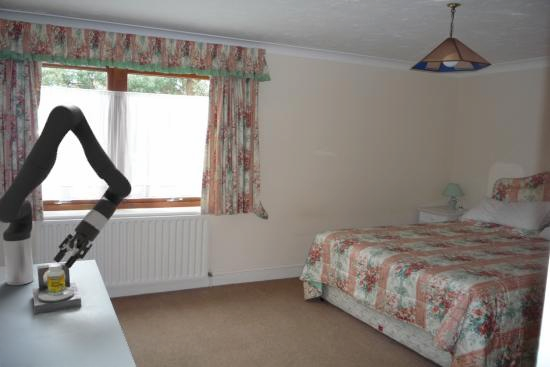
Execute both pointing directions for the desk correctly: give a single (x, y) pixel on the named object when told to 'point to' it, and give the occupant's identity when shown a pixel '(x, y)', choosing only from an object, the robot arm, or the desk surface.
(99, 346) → the desk surface
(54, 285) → the supplement bottle
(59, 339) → the desk surface
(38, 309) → the scale
